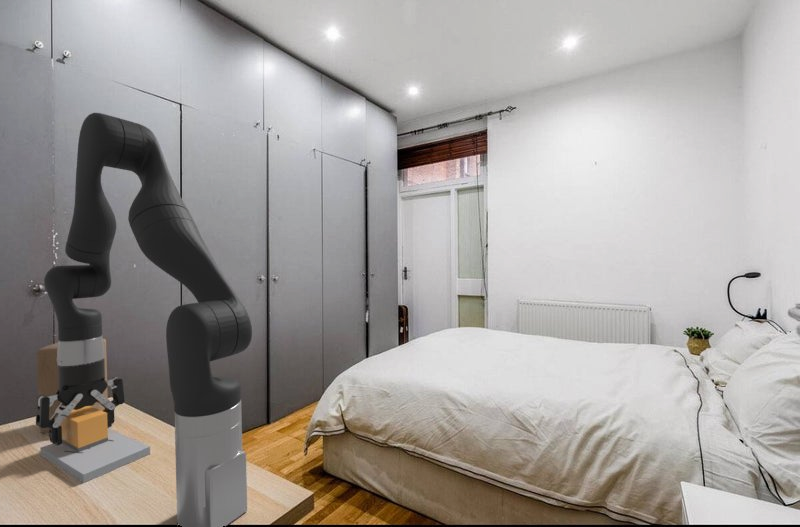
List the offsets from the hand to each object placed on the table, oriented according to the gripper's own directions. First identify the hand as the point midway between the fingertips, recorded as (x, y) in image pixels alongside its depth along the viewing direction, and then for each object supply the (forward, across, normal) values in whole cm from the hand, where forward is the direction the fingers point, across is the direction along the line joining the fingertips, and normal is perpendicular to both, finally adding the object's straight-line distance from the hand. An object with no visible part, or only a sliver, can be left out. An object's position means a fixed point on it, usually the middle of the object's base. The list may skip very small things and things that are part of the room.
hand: (84, 434), depth 78 cm
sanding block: (+1, 0, 0) cm, 1 cm away
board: (+3, 0, -5) cm, 6 cm away
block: (+3, +4, +17) cm, 18 cm away
